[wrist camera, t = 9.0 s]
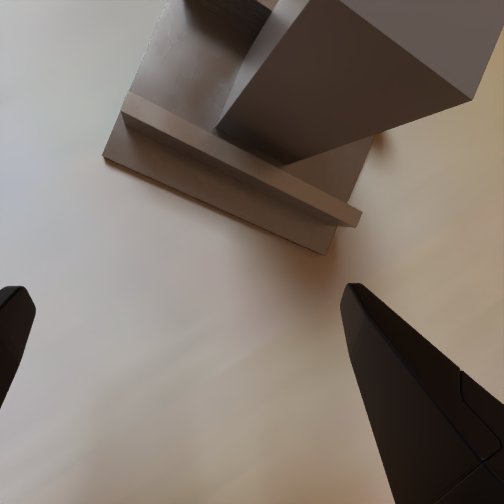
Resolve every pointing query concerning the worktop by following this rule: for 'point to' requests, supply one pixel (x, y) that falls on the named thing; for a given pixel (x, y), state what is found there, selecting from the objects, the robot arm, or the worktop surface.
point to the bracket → (218, 142)
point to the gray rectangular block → (356, 70)
